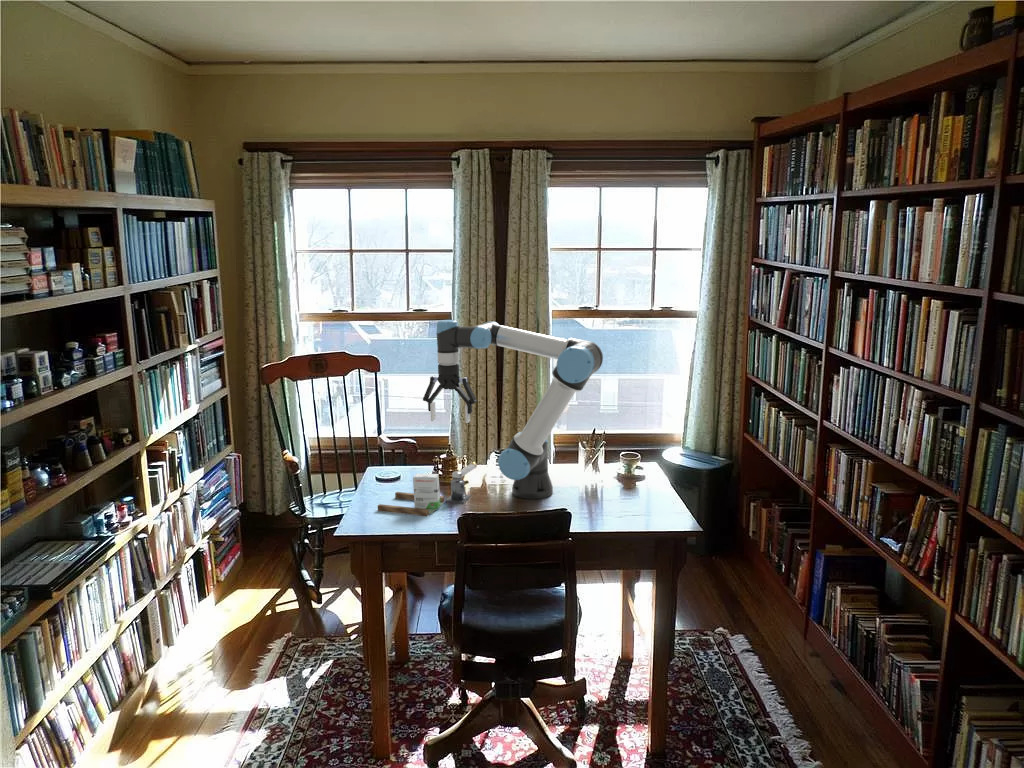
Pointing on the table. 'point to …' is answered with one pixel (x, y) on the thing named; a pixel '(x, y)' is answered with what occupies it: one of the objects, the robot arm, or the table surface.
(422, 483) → the ink box
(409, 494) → the rails
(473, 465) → the crank
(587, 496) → the table surface
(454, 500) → the winch drum
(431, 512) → the front pad
